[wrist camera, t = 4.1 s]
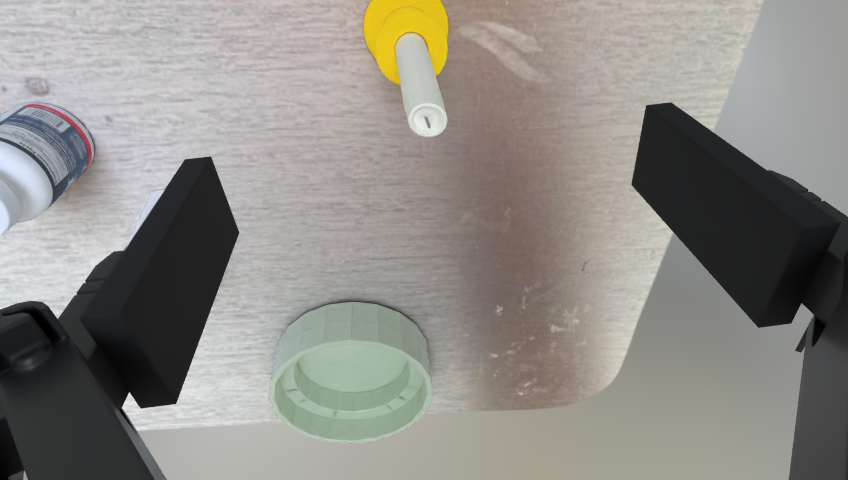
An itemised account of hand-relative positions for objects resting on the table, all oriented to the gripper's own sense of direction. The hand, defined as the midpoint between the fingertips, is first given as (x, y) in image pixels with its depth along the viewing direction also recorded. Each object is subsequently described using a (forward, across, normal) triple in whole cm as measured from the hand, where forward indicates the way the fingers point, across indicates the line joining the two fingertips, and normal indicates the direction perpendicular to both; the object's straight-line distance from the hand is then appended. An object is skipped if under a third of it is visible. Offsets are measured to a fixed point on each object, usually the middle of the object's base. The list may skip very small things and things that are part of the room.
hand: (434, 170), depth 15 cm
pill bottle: (+19, -24, -4) cm, 31 cm away
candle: (+19, 0, 0) cm, 19 cm away
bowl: (+19, -8, -28) cm, 35 cm away
